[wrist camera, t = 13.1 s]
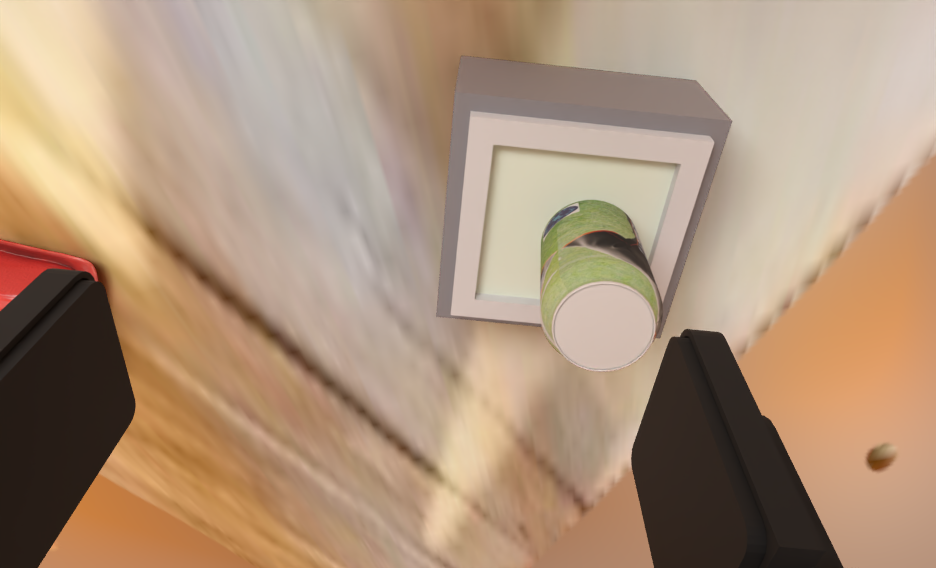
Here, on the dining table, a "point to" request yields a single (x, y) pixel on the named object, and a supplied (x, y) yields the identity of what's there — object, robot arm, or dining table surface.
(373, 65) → the dining table surface
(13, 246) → the butter dish
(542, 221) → the stand
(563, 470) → the dining table surface
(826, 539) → the robot arm
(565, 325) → the beverage can
